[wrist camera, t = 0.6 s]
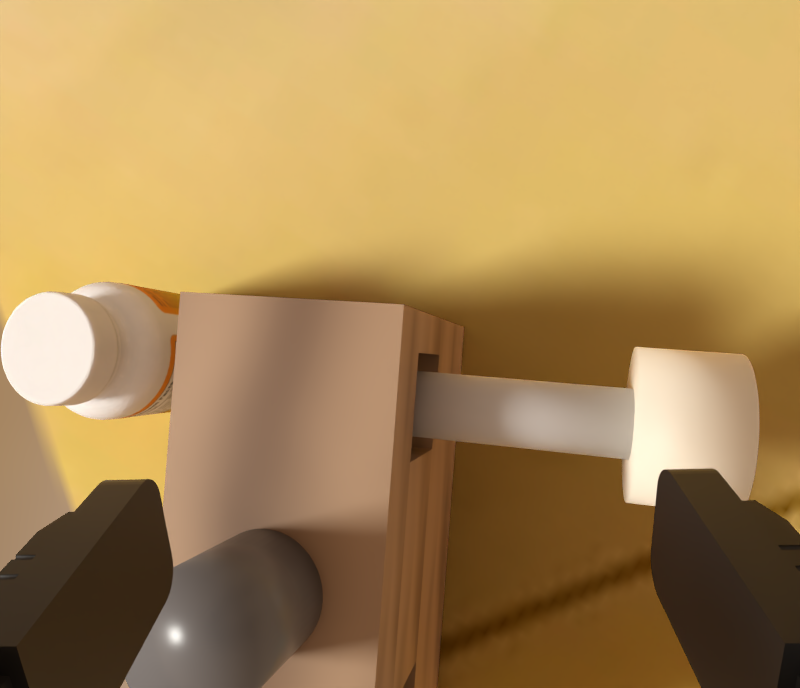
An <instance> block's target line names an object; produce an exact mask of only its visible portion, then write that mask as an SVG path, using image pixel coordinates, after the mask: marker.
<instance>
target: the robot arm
mask: <svg viewBox="0 0 800 688" xmlns="http://www.w3.org/2000/svg"><path fill="white" fill-rule="evenodd" d="M651 569H652V576H653V581H654V586H655V589H656V592H657V595H658V597H659V599H660V602H661V604H662V606H663V608H664V610H665V612H666V614H667V616H668V618H669V621H670V623H671V625H672V627H673V629H674V631H675V633H676V635H677V637H678V639H679V642H680V644H681V646H682V648H683V650H684V652H685V654H686V656H687V658H688V661H689V663H690V665H691V667H692V669H693V671H694V673H695V675H696V677H697V680H698V682H699V684H700V686H701V688H800V534H799V533H798V532H797V531H796V530H795V529H794V528H793V526H792V525H791V524H790V523H789V522H788V521H787V520H786V519H784V518H782V517H781V516H779V515H778V514H776V513H774V512H773V511H771V510H770V509H768V508H766V507H765V506H763V505H762V504H760V503H758V502H757V501H755V500H747V501H742V500H741V499H740V498H739V497H738V495H737V494H736V493H735V492H734V490H733V489H732V488H731V487H730V485H729V484H728V483H727V482H726V480H725V479H724V478H723V477H722V475H721V474H720V473H719V472H718V471H717V470H715V469H713V468H705V469H665V470H662V471H661V473H660V475H659V478H658V483H657V493H656V504H655V514H654V525H653V536H652V547H651ZM172 580H173V558H172V553H171V548H170V543H169V537H168V532H167V527H166V522H165V517H164V512H163V507H162V502H161V497H160V492H159V489H158V486H157V485H156V483H155V482H154V481H153V480H150V479H141V480H105V481H103V482H101V483H100V484H99V485H98V486H97V487H96V488H95V489H94V490H93V491H92V492H91V494H90V495H89V496H88V497H87V498H86V499H85V500H84V501H83V503H82V504H81V505H80V506H79V507H78V508H77V509H76V511H75V512H68V513H66V514H65V515H63V516H61V517H60V518H58V519H57V520H55V521H54V522H52V523H51V524H49V525H47V526H46V527H44V528H43V529H41V530H40V531H38V532H37V533H36V534H35V535H34V536H33V537H32V538H31V539H30V540H29V542H28V543H27V544H26V545H25V546H24V547H23V548H22V549H21V550H20V551H19V552H18V553H17V554H16V559H15V560H11V561H10V562H9V563H8V564H7V565H6V566H5V567H4V568H3V569H2V571H1V572H0V688H120V687H121V685H122V683H123V681H124V679H125V678H126V676H127V674H128V672H129V670H130V668H131V666H132V665H133V663H134V661H135V659H136V657H137V655H138V653H139V651H140V650H141V648H142V646H143V644H144V642H145V640H146V638H147V637H148V635H149V633H150V631H151V629H152V627H153V625H154V624H155V622H156V620H157V618H158V616H159V614H160V612H161V610H162V609H163V607H164V605H165V603H166V601H167V599H168V596H169V594H170V590H171V586H172Z"/></svg>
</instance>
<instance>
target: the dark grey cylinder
mask: <svg viewBox="0 0 800 688" xmlns="http://www.w3.org/2000/svg"><path fill="white" fill-rule="evenodd" d="M322 603H323V591H322V584H321V579H320V576H319V573H318V570H317V568H316V566H315V564H314V562H313V560H312V558H311V557H310V555H309V554H308V553H307V552H306V550H305V549H304V548H303V547H302V546H301V545H300V544H299V543H298V542H296V541H295V540H294V539H292V538H291V537H289V536H287V535H285V534H283V533H281V532H278V531H275V530H270V529H252V530H247V531H245V532H242V533H239V534H237V535H236V536H234V537H232V538H230V539H228V540H226V541H224V542H222V543H220V544H218V545H216V546H214V547H212V548H210V549H208V550H206V551H204V552H202V553H200V554H198V555H196V556H194V557H192V558H191V559H189V560H187V561H185V562H183V563H181V564H179V565H177V566H175V567H173V580H172V586H171V590H170V594H169V596H168V599H167V601H166V603H165V605H164V607H163V609H162V610H161V612H160V614H159V616H158V618H157V620H156V622H155V624H154V625H153V627H152V629H151V631H150V633H149V635H148V637H147V638H146V640H145V642H144V644H143V646H142V648H141V650H140V651H139V653H138V655H137V657H136V659H135V661H134V663H133V665H132V666H131V668H130V670H129V672H128V674H127V676H126V678H125V679H126V682H127V684H128V686H129V688H261V687H262V686H263V685H264V684H265V683H266V682H267V681H268V680H269V679H270V678H271V677H272V676H273V674H274V673H275V672H276V671H277V670H278V669H279V668H280V667H281V666H282V665H283V664H284V663H285V662H286V661H287V660H288V659H289V658H290V657H291V656H292V655H293V653H294V652H295V651H296V650H297V649H298V648H299V647H300V646H301V645H302V644H303V643H304V642H305V641H306V640H307V639H308V637H309V636H310V635H311V634H312V632H313V631H314V629H315V627H316V625H317V623H318V620H319V618H320V614H321V610H322Z"/></svg>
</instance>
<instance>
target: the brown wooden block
mask: <svg viewBox="0 0 800 688" xmlns="http://www.w3.org/2000/svg"><path fill="white" fill-rule="evenodd" d="M463 337H464V327H463V326H460V325H457V324H455V323H452V322H449V321H447V320H444V319H441V318H439V317H436V316H433V315H431V314H428V313H425V312H423V311H420V310H417V309H415V308H412V307H409V306H407V305H404V304H387V303H370V302H352V301H334V300H317V299H299V298H281V297H263V296H246V295H228V294H210V293H193V292H180V303H179V316H178V328H177V341H176V353H175V366H174V378H173V390H172V403H171V415H170V428H169V440H168V453H167V465H166V477H165V490H164V502H163V512H164V517H165V522H166V527H167V532H168V537H169V543H170V548H171V553H172V558H173V567H175V566H177V565H179V564H181V563H183V562H185V561H187V560H189V559H191V558H192V557H194V556H196V555H198V554H200V553H202V552H204V551H206V550H208V549H210V548H212V547H214V546H216V545H218V544H220V543H222V542H224V541H226V540H228V539H230V538H232V537H234V536H236V535H237V534H239V533H242V532H245V531H247V530H252V529H270V530H275V531H278V532H281V533H283V534H285V535H287V536H289V537H291V538H292V539H294V540H295V541H296V542H298V543H299V544H300V545H301V546H302V547H303V548H304V549H305V550H306V552H307V553H308V554H309V555H310V557H311V558H312V560H313V562H314V564H315V566H316V568H317V570H318V573H319V576H320V579H321V584H322V591H323V603H322V610H321V614H320V618H319V620H318V623H317V625H316V627H315V629H314V631H313V632H312V634H311V635H310V636H309V637H308V639H307V640H306V641H305V642H304V643H303V644H302V645H301V646H300V647H299V648H298V649H297V650H296V651H295V652H294V653H293V655H292V656H291V657H290V658H289V659H288V660H287V661H286V662H285V663H284V664H283V665H282V666H281V667H280V668H279V669H278V670H277V671H276V672H275V673H274V674H273V676H272V677H271V678H270V679H269V680H268V681H267V682H266V683H265V684H264V685H263V686H262V687H261V688H437V686H438V673H439V659H440V646H441V632H442V619H443V606H444V592H445V579H446V565H447V552H448V538H449V525H450V511H451V498H452V485H453V471H454V458H455V444H456V441H450V440H441V439H432V438H423V437H413V436H412V434H413V421H414V407H415V394H416V381H417V371H425V372H437V373H449V374H461V364H462V350H463Z"/></svg>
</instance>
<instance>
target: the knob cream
mask: <svg viewBox="0 0 800 688" xmlns="http://www.w3.org/2000/svg"><path fill="white" fill-rule="evenodd" d="M759 421H760V419H759V398H758V389H757V383H756V378H755V373H754V370H753V367H752V364H751V362H750V360H749V359H748V357H747V356H746V355H744V354H735V353H720V352H705V351H690V350H675V349H660V348H645V347H635V348H634V350H633V353H632V357H631V362H630V367H629V373H628V380H627V388H620V387H608V386H595V385H583V384H571V383H559V382H547V381H535V380H522V379H510V378H498V377H486V376H474V375H461V374H449V373H437V372H425V371H417V381H416V394H415V407H414V421H413V434H412V436H413V437H423V438H432V439H441V440H450V441H460V442H469V443H478V444H487V445H497V446H506V447H515V448H525V449H534V450H543V451H552V452H562V453H571V454H580V455H589V456H599V457H608V458H617V459H622V486H623V496H624V500H625V502H626V503H633V504H641V505H649V506H655V504H656V493H657V483H658V478H659V475H660V473H661V471H662V470H665V469H705V468H713V469H715V470H717V471H718V472H719V473H720V474H721V475H722V477H723V478H724V479H725V480H726V482H727V483H728V484H729V485H730V487H731V488H732V489H733V490H734V492H735V493H736V494H737V495H738V497H739V498H740V499H741V500H742V501H747V500H748V499H749V496H750V493H751V489H752V486H753V481H754V477H755V471H756V465H757V457H758V447H759Z"/></svg>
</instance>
